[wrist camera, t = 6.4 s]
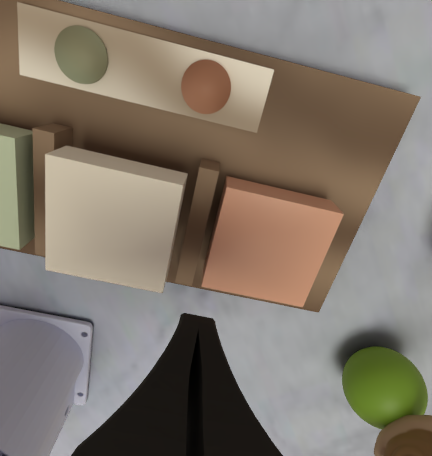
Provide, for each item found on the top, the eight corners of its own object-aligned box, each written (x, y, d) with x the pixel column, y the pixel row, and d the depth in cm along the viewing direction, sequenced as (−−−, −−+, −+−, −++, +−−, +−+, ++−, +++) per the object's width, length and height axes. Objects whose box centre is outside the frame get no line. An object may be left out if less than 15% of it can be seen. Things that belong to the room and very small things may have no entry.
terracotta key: (295, 286, 20) (302, 307, 18) (203, 267, 19) (201, 286, 17) (331, 200, 17) (343, 214, 15) (226, 175, 17) (226, 187, 15)
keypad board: (312, 298, 23) (327, 333, 19) (-75, 219, 21) (-129, 243, 17) (405, 95, 17) (447, 98, 14) (-123, -45, 15) (-218, -80, 12)
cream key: (168, 272, 18) (162, 293, 16) (63, 250, 18) (45, 269, 16) (187, 173, 15) (183, 185, 14) (66, 145, 15) (45, 154, 13)
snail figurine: (426, 350, 25) (587, 562, 14) (357, 389, 27) (451, 600, 16) (388, 312, 23) (535, 516, 12) (318, 356, 25) (392, 565, 14)
